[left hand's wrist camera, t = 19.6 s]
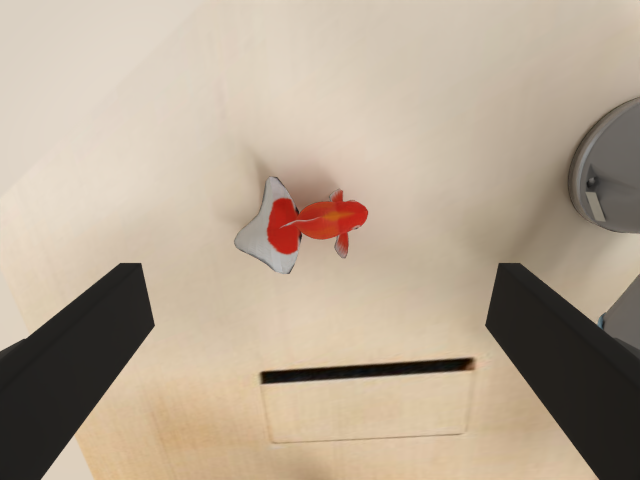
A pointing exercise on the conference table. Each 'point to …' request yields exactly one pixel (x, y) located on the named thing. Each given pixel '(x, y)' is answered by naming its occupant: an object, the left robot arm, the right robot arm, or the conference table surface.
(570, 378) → the left robot arm
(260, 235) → the fish
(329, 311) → the conference table surface
